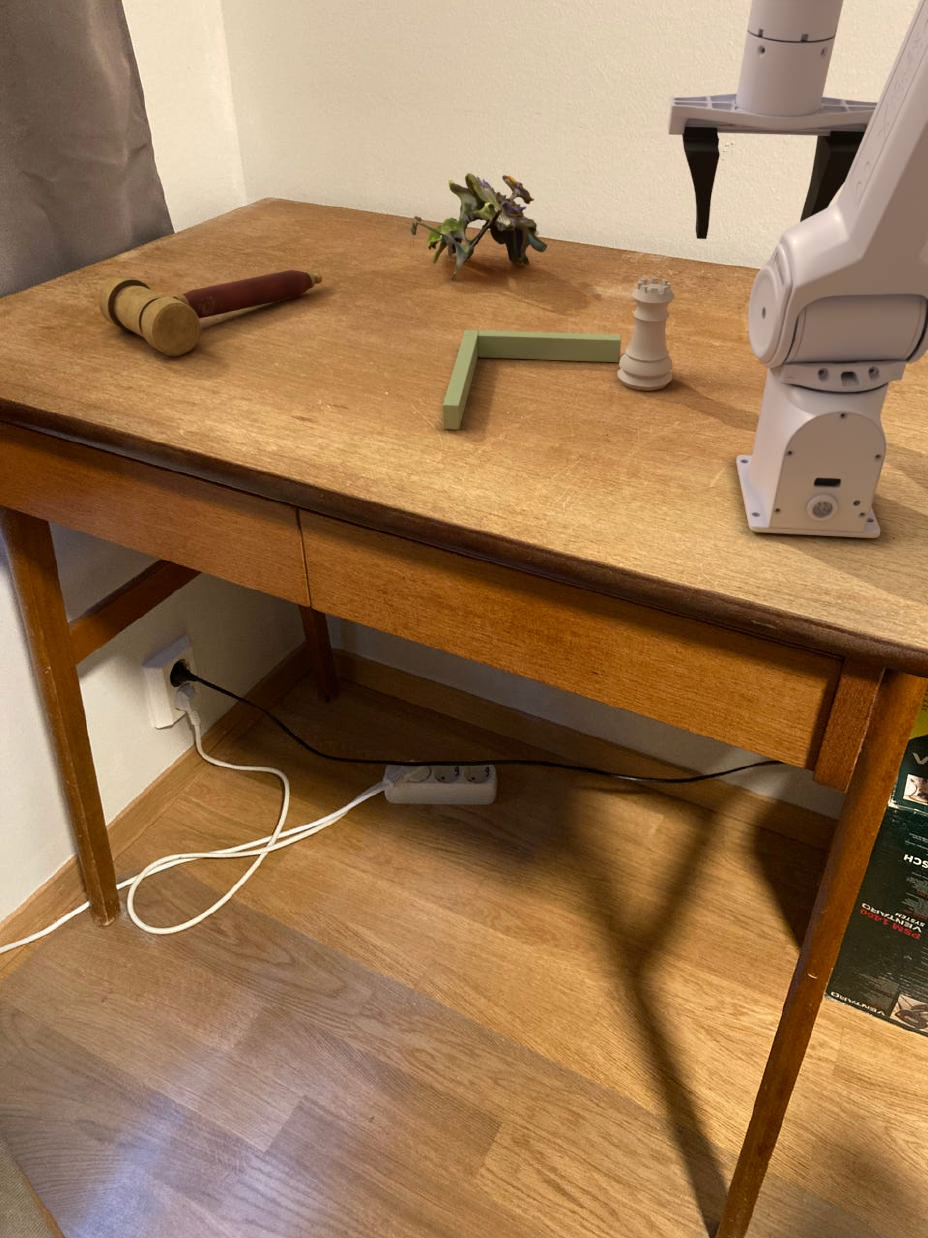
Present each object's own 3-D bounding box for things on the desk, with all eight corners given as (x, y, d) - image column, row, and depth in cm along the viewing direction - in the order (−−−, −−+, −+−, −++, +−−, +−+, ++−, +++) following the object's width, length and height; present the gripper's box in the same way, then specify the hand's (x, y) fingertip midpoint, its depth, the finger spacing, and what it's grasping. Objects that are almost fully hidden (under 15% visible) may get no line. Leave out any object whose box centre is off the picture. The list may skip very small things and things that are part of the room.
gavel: (290, 242, 100) (351, 265, 94) (293, 288, 103) (352, 313, 97) (93, 278, 88) (149, 308, 82) (102, 329, 91) (156, 361, 85)
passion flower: (512, 316, 107) (576, 234, 98) (436, 323, 100) (497, 236, 91) (463, 233, 110) (521, 146, 100) (385, 235, 103) (439, 142, 94)
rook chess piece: (606, 375, 82) (614, 278, 77) (652, 365, 84) (662, 269, 79) (635, 396, 79) (646, 296, 74) (682, 385, 81) (695, 287, 76)
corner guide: (620, 436, 74) (622, 412, 73) (443, 429, 75) (442, 404, 74) (619, 356, 85) (621, 334, 84) (465, 351, 87) (465, 329, 85)
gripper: (892, 18, 68) (842, 218, 78) (678, 15, 70) (654, 211, 79) (914, 45, 63) (858, 256, 73) (682, 41, 65) (656, 248, 74)
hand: (752, 235), depth 75 cm, fingers open, 7 cm apart
